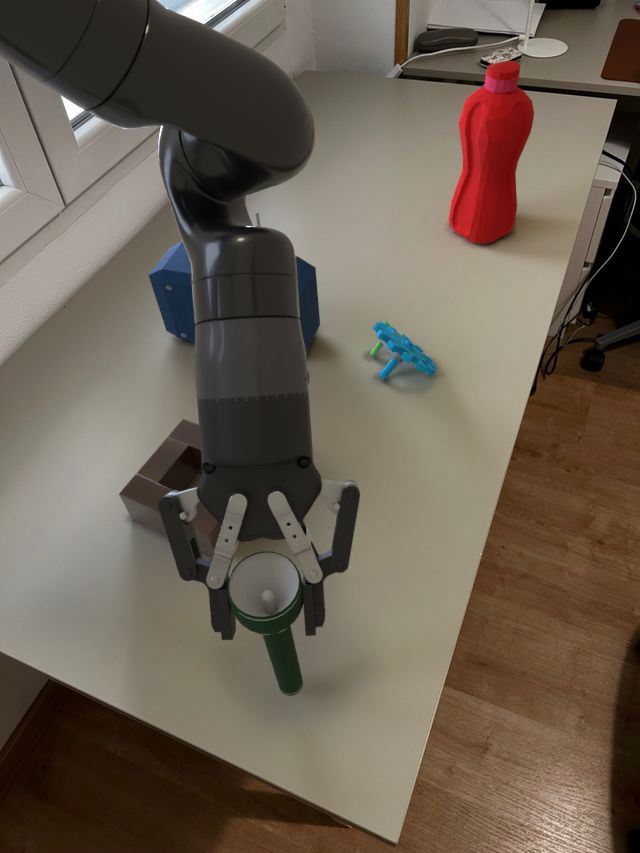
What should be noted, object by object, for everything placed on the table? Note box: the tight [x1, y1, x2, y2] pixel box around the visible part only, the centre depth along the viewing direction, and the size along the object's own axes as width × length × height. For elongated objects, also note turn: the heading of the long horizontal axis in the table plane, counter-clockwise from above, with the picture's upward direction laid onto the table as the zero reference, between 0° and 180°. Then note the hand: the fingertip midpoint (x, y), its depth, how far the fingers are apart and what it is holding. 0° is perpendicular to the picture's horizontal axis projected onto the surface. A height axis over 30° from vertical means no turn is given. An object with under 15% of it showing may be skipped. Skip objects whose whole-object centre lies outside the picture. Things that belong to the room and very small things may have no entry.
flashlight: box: [227, 550, 304, 697], centre depth 51 cm, size 5×5×20 cm
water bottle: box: [448, 60, 535, 245], centre depth 96 cm, size 9×11×25 cm
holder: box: [118, 418, 221, 558], centre depth 72 cm, size 12×12×5 cm
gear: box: [369, 320, 439, 381], centre depth 84 cm, size 11×6×10 cm
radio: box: [148, 212, 321, 354], centre depth 84 cm, size 21×9×20 cm, turn 72°
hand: (270, 632), depth 45 cm, fingers closed on flashlight, 5 cm apart
